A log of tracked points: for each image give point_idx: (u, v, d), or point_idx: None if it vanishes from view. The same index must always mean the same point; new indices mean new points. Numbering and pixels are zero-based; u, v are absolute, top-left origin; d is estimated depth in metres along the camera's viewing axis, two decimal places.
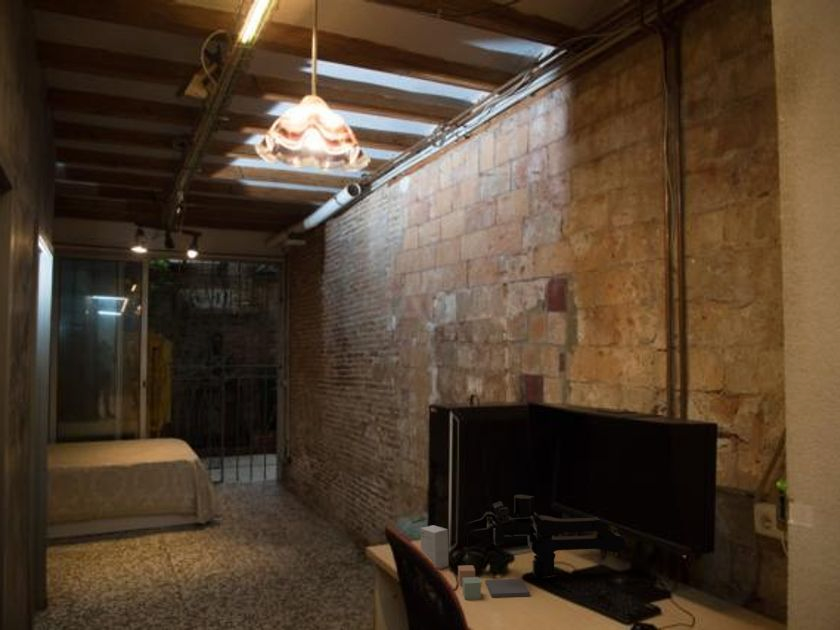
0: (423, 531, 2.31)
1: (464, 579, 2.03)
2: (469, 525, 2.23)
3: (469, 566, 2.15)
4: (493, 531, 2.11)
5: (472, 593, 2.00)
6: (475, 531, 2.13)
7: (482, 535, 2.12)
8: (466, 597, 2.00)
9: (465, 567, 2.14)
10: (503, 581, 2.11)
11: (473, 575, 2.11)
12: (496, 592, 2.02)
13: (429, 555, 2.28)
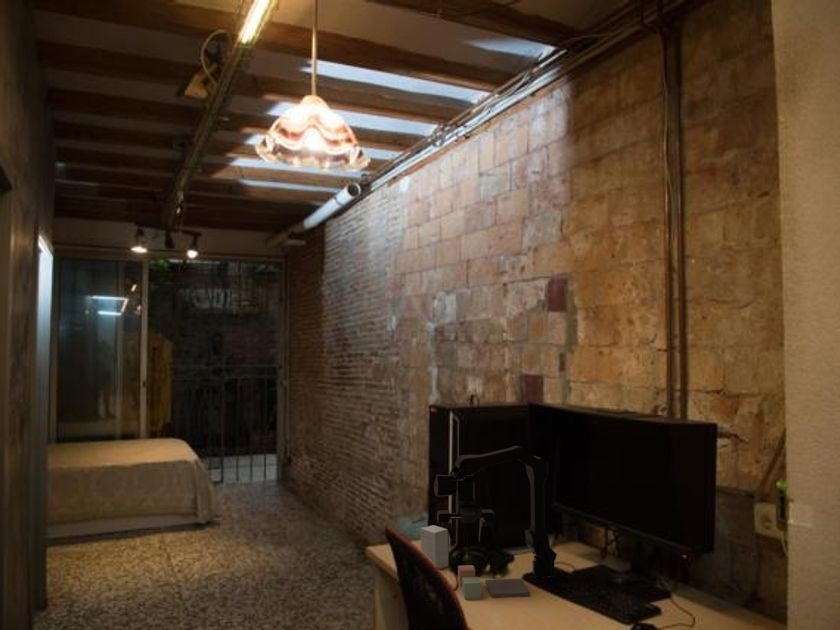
0: (423, 531, 2.31)
1: (464, 579, 2.03)
2: (452, 540, 2.14)
3: (469, 566, 2.15)
4: None
5: (472, 593, 2.00)
6: None
7: None
8: (466, 597, 2.00)
9: (465, 567, 2.14)
10: (503, 581, 2.11)
11: (473, 575, 2.11)
12: (496, 592, 2.02)
13: (429, 555, 2.28)
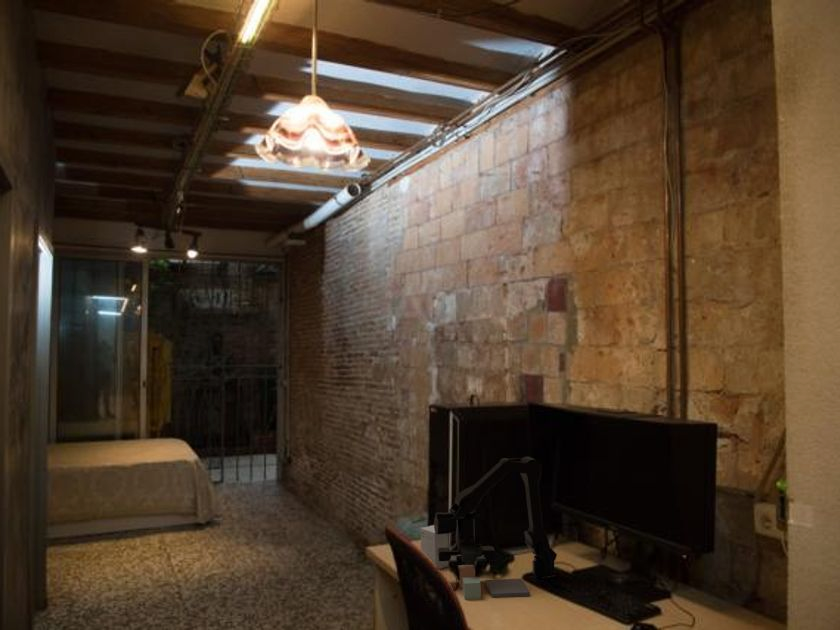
0: (423, 531, 2.31)
1: (464, 579, 2.03)
2: None
3: (469, 565, 2.15)
4: None
5: (472, 593, 2.00)
6: None
7: None
8: (466, 597, 2.00)
9: (465, 567, 2.14)
10: (503, 581, 2.11)
11: (473, 575, 2.11)
12: (496, 592, 2.02)
13: (429, 555, 2.28)
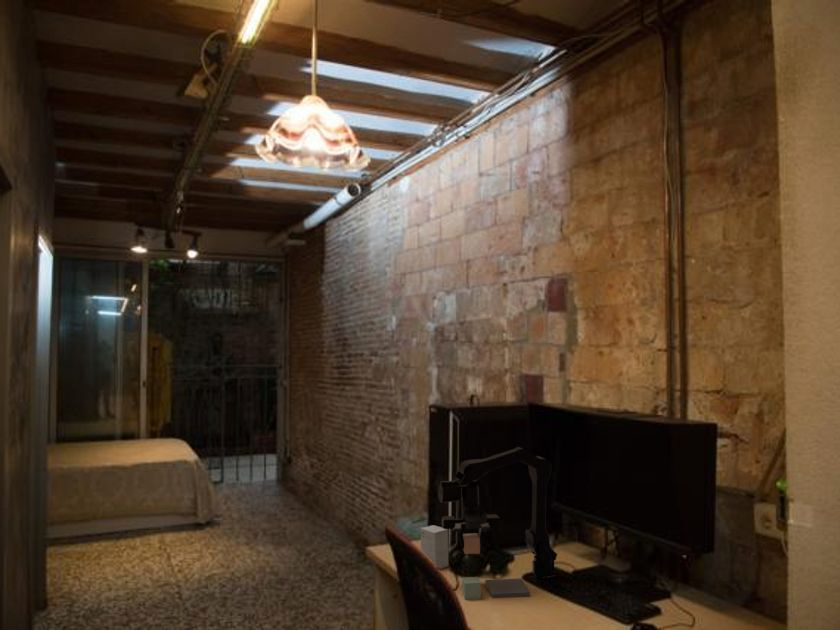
0: (423, 531, 2.31)
1: (464, 579, 2.03)
2: None
3: (473, 534, 2.15)
4: (489, 527, 2.13)
5: (472, 593, 2.00)
6: None
7: None
8: (466, 597, 2.00)
9: (469, 535, 2.14)
10: (503, 581, 2.11)
11: (478, 542, 2.11)
12: (496, 592, 2.02)
13: (429, 555, 2.28)
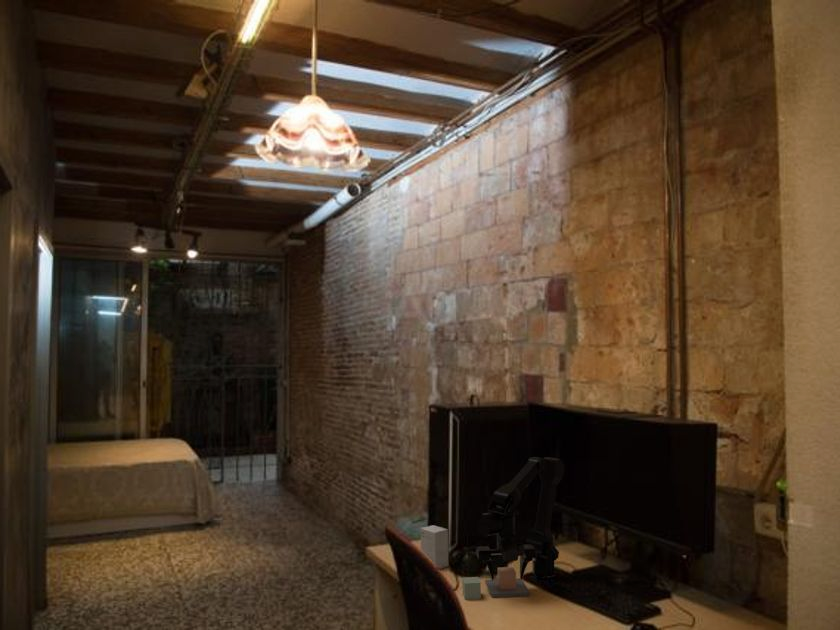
0: (423, 531, 2.31)
1: (464, 579, 2.03)
2: None
3: (508, 567, 2.09)
4: None
5: (472, 593, 2.00)
6: None
7: None
8: (466, 597, 2.00)
9: (505, 569, 2.08)
10: None
11: (514, 577, 2.05)
12: (496, 592, 2.02)
13: (429, 555, 2.28)
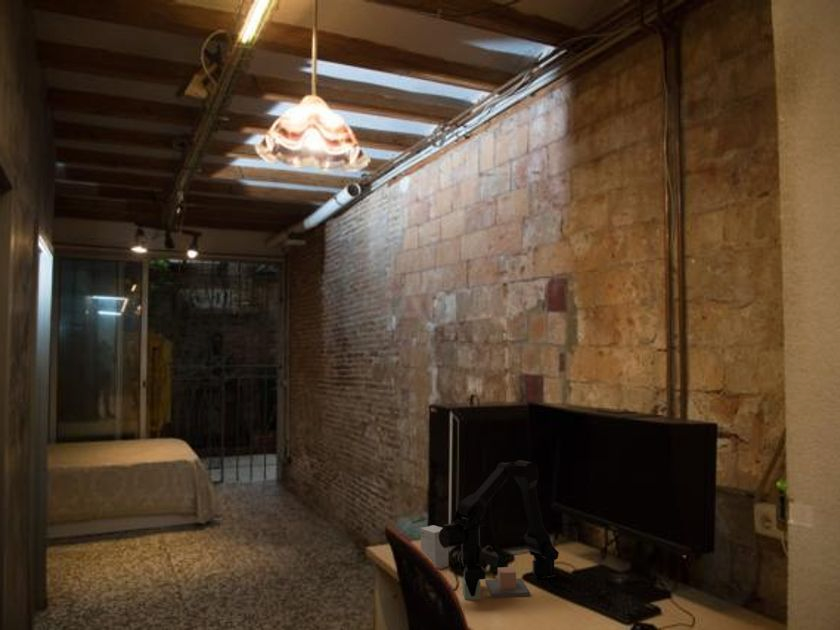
0: (423, 531, 2.31)
1: (464, 579, 2.03)
2: None
3: (508, 567, 2.09)
4: None
5: None
6: None
7: None
8: (466, 597, 2.00)
9: (505, 569, 2.08)
10: None
11: (514, 577, 2.05)
12: (496, 592, 2.02)
13: (429, 555, 2.28)
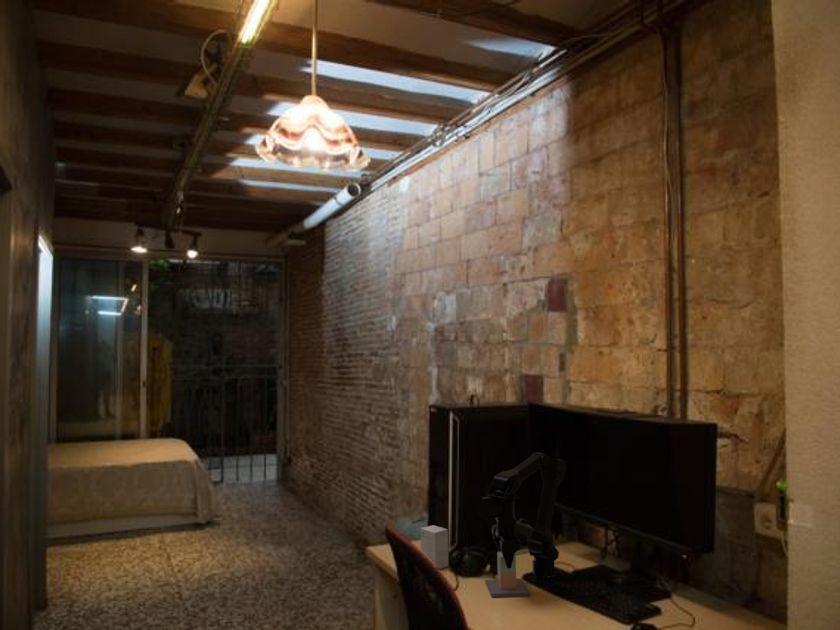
0: (423, 531, 2.31)
1: (499, 553, 2.08)
2: None
3: None
4: None
5: None
6: None
7: None
8: (501, 570, 2.05)
9: None
10: None
11: (514, 577, 2.05)
12: (496, 592, 2.02)
13: (429, 555, 2.28)
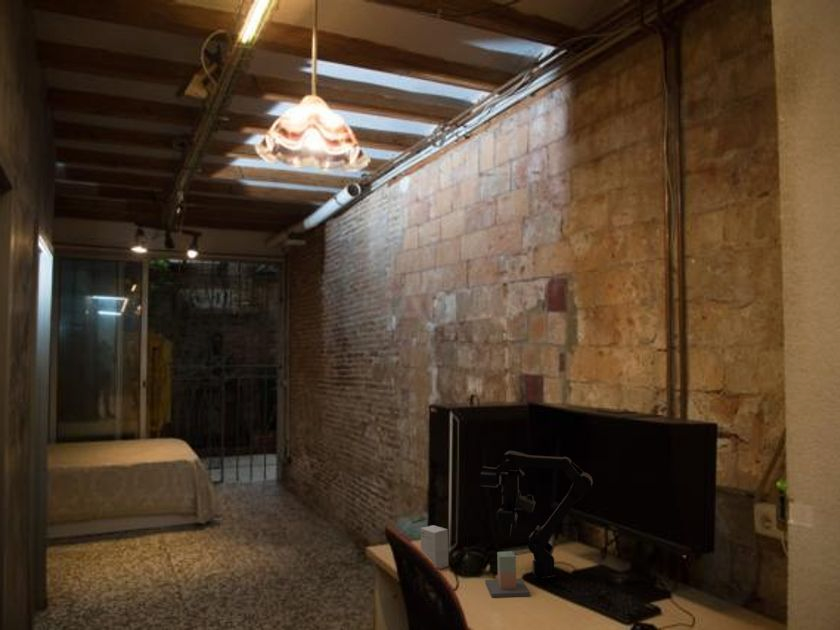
0: (423, 531, 2.31)
1: (499, 553, 2.08)
2: None
3: None
4: None
5: (507, 567, 2.05)
6: None
7: None
8: (501, 570, 2.05)
9: None
10: None
11: (514, 577, 2.05)
12: (496, 592, 2.02)
13: (429, 555, 2.28)
